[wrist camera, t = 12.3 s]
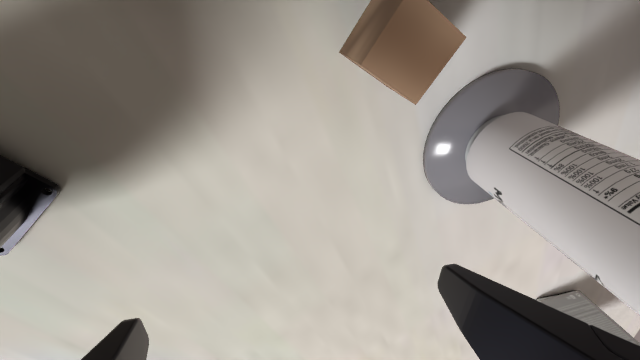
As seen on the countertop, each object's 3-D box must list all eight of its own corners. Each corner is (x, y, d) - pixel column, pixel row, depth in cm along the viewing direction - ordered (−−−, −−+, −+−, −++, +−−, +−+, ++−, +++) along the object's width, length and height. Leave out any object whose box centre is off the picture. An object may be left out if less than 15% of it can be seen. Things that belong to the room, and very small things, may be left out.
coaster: (461, 220, 28) (465, 224, 28) (396, 146, 23) (400, 150, 22) (568, 137, 26) (574, 140, 26) (525, 32, 21) (533, 33, 20)
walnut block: (386, 86, 20) (415, 104, 17) (338, 51, 19) (360, 65, 15) (426, 29, 19) (466, 37, 16) (379, -14, 17) (412, -15, 14)
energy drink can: (446, 177, 25) (662, 370, 12) (479, 102, 22) (806, 253, 9) (507, 181, 26) (752, 354, 14) (544, 112, 23) (896, 251, 11)
